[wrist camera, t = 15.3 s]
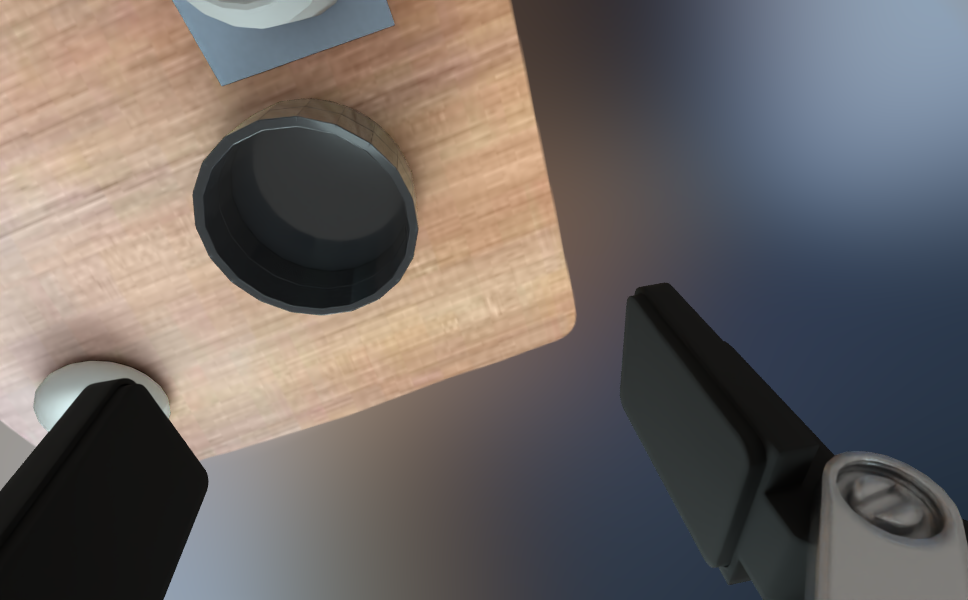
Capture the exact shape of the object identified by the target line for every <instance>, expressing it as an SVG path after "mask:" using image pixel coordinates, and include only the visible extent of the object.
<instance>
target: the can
mask: <svg viewBox="0 0 968 600" xmlns="http://www.w3.org/2000/svg"><path fill="white" fill-rule="evenodd" d="M186 1H188V2H189V3H190V4H192V5H193V6H194V7H196V8H197V9H198V10H200V11H201V12H202V13H204V14H205V15H208V16H210V17H213V18H215V19H218V20H220V21H222V22H225V23H227V24H230V25H232V26H236V27H247V28H259V29H265V28H269V27H273V26H278V25H282V24H287V23H291V22H295V21H300V20H304V19H307V18H311V17H315V16H318V15H321V14H322V13H323V12H325V11H326V10H327V9H329V8H330V7H331V6H332V5H334V4H335V3H336V2H337V0H186Z"/></svg>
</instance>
